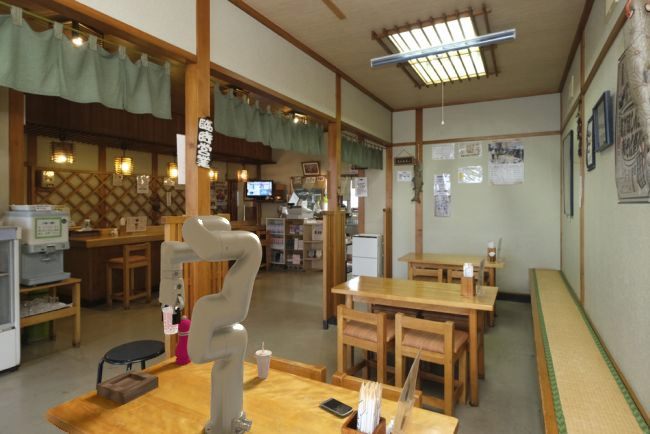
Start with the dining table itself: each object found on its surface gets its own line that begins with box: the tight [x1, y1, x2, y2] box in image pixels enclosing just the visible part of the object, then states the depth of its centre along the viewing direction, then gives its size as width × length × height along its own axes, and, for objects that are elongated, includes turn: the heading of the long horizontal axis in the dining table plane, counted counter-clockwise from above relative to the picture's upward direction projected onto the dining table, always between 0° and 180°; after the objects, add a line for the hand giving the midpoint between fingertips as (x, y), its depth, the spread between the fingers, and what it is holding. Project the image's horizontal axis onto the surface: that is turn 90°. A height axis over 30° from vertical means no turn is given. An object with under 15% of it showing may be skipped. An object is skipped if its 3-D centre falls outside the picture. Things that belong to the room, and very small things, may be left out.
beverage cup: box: [161, 306, 179, 335], centre depth 142 cm, size 6×6×14 cm
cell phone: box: [319, 397, 355, 418], centre depth 128 cm, size 6×11×1 cm, turn 47°
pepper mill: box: [174, 315, 192, 366], centre depth 163 cm, size 7×7×20 cm
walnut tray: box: [96, 369, 160, 405], centre depth 137 cm, size 14×14×4 cm
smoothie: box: [254, 341, 273, 380], centre depth 150 cm, size 6×6×14 cm
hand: (171, 321), depth 142 cm, fingers closed on beverage cup, 6 cm apart
